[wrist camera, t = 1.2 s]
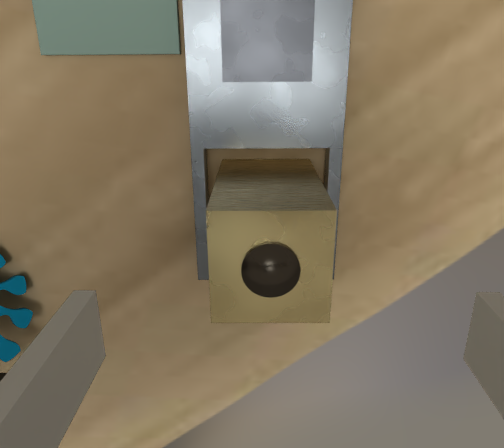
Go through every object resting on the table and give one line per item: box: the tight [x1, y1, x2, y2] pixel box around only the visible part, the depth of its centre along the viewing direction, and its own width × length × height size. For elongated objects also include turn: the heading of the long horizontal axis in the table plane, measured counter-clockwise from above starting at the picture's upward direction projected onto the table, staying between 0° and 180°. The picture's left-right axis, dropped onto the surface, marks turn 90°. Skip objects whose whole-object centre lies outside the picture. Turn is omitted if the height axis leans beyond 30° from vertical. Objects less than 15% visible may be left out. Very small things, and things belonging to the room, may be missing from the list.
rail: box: [182, 0, 353, 280], centre depth 25 cm, size 9×26×2 cm, turn 0°
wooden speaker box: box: [206, 159, 337, 323], centre depth 24 cm, size 6×6×10 cm
